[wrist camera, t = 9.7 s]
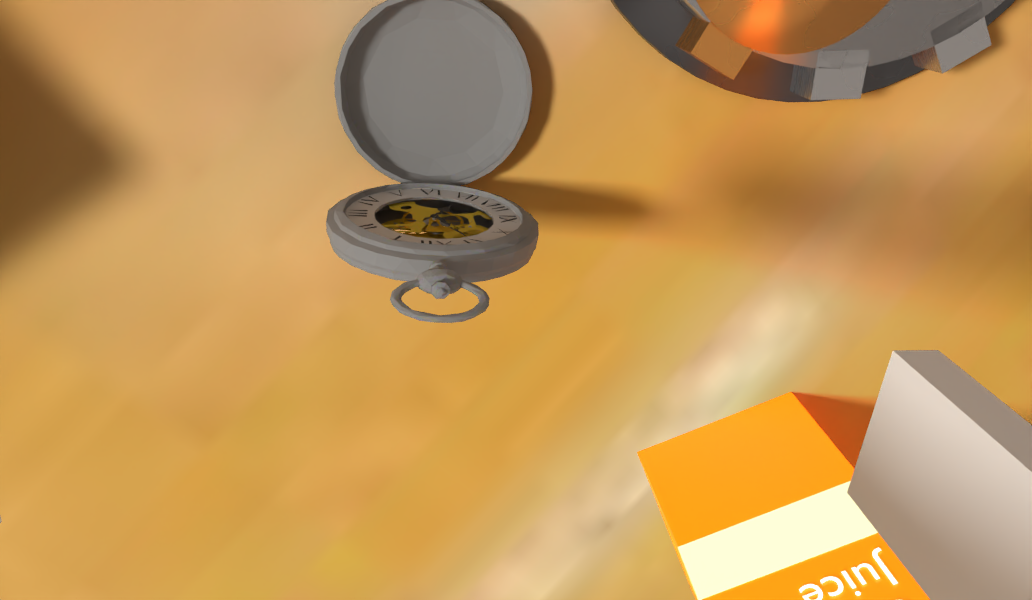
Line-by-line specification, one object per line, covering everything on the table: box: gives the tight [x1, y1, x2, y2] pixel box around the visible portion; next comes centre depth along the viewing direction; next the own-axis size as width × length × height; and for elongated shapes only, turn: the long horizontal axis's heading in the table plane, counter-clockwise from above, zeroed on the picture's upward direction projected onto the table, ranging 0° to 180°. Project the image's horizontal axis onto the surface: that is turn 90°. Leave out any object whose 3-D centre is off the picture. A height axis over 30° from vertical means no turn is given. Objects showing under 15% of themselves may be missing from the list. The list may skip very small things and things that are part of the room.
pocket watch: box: [326, 0, 538, 323], centre depth 23 cm, size 8×8×10 cm
